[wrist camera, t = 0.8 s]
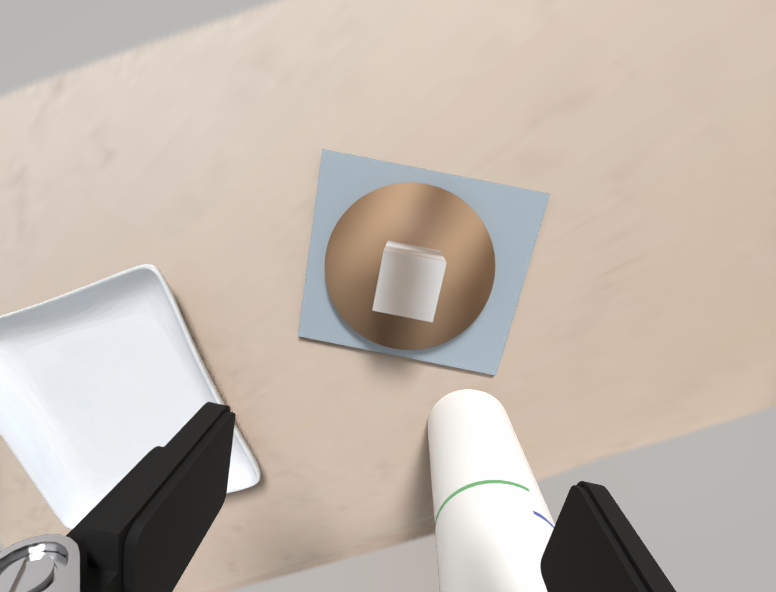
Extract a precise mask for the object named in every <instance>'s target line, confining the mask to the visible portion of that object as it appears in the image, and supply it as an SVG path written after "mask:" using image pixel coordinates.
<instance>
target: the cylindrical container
mask: <svg viewBox="0 0 776 592" xmlns="http://www.w3.org/2000/svg"><path fill="white" fill-rule="evenodd" d="M427 427H428V441H429V454H430V467H431V480H432V493H433V506H434V520H435V533H436V547H437V559H438V573H439V588H440V592H547V589H546V586H545V583H544V581H543V578H542V575H541V569H540V563H541V558H542V555H543V553H544V551H545V548H546V546H547V543H548V541H549V539H550V536H551V534H552V531H553V529H554V527H555V524H554V522H553V519H552V517H551V515H550V512H549V510H548V508H547V506H546V503H545V501H544V499H543V496H542V494H541V492H540V489H539V487H538V485H537V482H536V480H535V478H534V475H533V473H532V471H531V468H530V466H529V464H528V462H527V459H526V457H525V455H524V452H523V450H522V448H521V445H520V443H519V441H518V439H517V436H516V434H515V432H514V429H513V427H512V425H511V422H510V420H509V418H508V416H507V413H506V411H505V409H504V408H503V406H502V404H501V403H500V402H499V401H498V400H497V399H496V398H494V397H493V396H491V395H489V394H487V393H485V392H482V391H478V390H469V389H466V390H458V391H455V392H452V393H450V394H448V395H446V396H444V397H443V398H441V399H440V400H439V401H438V402H437V403H436V404H435V405H434V406H433V408H432V410H431V412H430V414H429V417H428V426H427Z"/></svg>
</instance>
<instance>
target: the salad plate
mask: <svg viewBox="0 0 776 592" xmlns="http://www.w3.org/2000/svg"><path fill="white" fill-rule="evenodd" d="M207 402H213V403H217V404H222V405H225V404H224V402H223V400H222V398H221V396H220V394H219V392H218V390H217V388H216V386H215V384H214V382H213V381H212V379H211V377H210V375H209V373H208V371H207V369H206V367H205V365H204V363H203V361H202V358H201V356H200V354H199V352H198V350H197V348H196V346H195V344H194V341H193V339H192V337H191V335H190V332H189V330H188V328H187V326H186V323H185V321H184V319H183V317H182V314H181V312H180V309H179V307H178V305H177V302H176V300H175V297H174V295H173V293H172V290H171V288H170V286H169V284H168V283H167V281H166V279H165V277H164V276H163V274H162V273H161V272H160V271H159V269H158V268H157V267H155V266H153V265H151V264H142V265H139V266H135V267H133V268H130V269H127V270H124V271H121V272H119V273H116V274H114V275H111V276H109V277H106V278H104V279H101V280H99V281H96V282H94V283H91V284H89V285H86V286H83V287H81V288H78V289H76V290H73V291H70V292H68V293H65V294H62V295H60V296H57V297H54V298H52V299H49V300H46V301H44V302H41V303H38V304H35V305H32V306H29V307H26V308H23V309H20V310H17V311H14V312H11V313H7V314H4V315H0V435H1V436H2V438H3V439H4V440H5V442H6V443H7V445H8V446H9V447H10V449H11V450H12V452H13V453H14V455H15V456H16V458H17V459H18V461H19V462H20V464H21V465H22V467H23V468H24V470H25V471H26V473H27V474H28V475H29V477H30V478H31V480H32V481H33V483H34V484H35V486H36V487H37V489H38V490H39V492H40V493H41V495H42V496H43V497H44V499H45V500H46V502H47V503H48V505H49V506H50V508H51V509H52V510H53V512H54V513H55V515H56V516H57V517H58V519H59V520H60V521H61V523H62V524H63V525H64V526H65V527H67V528H69V529H73V528H74V527H75V526H76V525H77V524H78V523H79V522H80V521H81V520H82V519H83V518H84V517H85V516H86V515H87V514H88V513H89V512H90V511H91V510H92V509H93V508H94V507H95V506H96V505H97V504H98V503H99V502H100V501H101V500H102V499H103V498H104V497H105V496H106V495H107V494H108V493H109V492H110V491H111V490H112V489H113V488H114V487H115V486H116V485H117V484H118V483H119V482H120V481H121V480H122V479H123V478H124V477H125V476H126V475H127V474H128V473H129V472H130V471H131V470H132V469H133V468H134V467H135V466H136V465H137V463H138V462H139V461H140V460H141V459H142V458H143V457H144V456H145V455H146V454H147V453H148V452H149V451H151V450H152V449H153V448H154V447H157V446H162V447H164V446H165V445H166V444H167V443H168V442H169V441H170V440H171V439H172V438H173V437H174V436H175V435H176V434H177V433H178V432H179V430H180V429H181V428H182V427H183V426H184V425H185V424H186V423H187V422H188V421H189V420H190V419H191V418H192V417H193V416H194V415H195V414H196V413H197V412H198V410H199V409H200V408H201V407H202V406H203V405H204V404H205V403H207ZM260 475H261V474H260V469H259V466H258V463H257V461H256V459H255V457H254V455H253V453H252V452H251V450H250V448H249V446H248V445H247V443H246V441H245V440H244V438H243V436H242V434H241V433H240V431H239V429H238V427H237V426H236V424H235V426H234V434H233V443H232V451H231V460H230V468H229V477H228V485H227V493H232V492H236V491H240V490H244V489H246V488H249V487H252V486H254V485H256V484H257V483H258V482H259V480H260ZM227 493H226V494H227Z"/></svg>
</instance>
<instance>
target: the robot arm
mask: <svg viewBox="0 0 776 592" xmlns="http://www.w3.org/2000/svg"><path fill="white" fill-rule="evenodd" d="M234 426H235V413H232V412H230V407H229V406H227V405H222V404H217V403H213V402H207V403H205V404H204V405H203V406H202V407H201V408H200V409H199V410H198V412H197V413H196V414H195V415H194V416H193V417H192V418H191V419H190V420H189V421H188V422H187V423H186V424H185V425H184V426H183V427H182V428H181V429H180V430H179V432H178V433H177V434H176V435H175V436H174V437H173V438H172V439H171V440H170V441H169V442H168V443H167V444H166V445H165V446H164V447H162V446H157V447H154V448H153V449H152V450H151V451H149V452H148V453H147V454H146V455H145V456H144V457H143V458H142V459H141V460H140V461H139V462H138V463H137V465H136V466H135V467H134V468H133V469H132V470H131V471H130V472H129V473H128V474H127V475H126V476H125V477H124V478H123V479H122V480H121V481H120V482H119V483H118V484H117V485H116V486H115V487H114V488H113V489H112V490H111V491H110V492H109V493H108V494H107V495H106V496H105V497H104V498H103V499H102V500H101V501H100V502H99V503H98V504H97V505H96V506H95V507H94V508H93V509H92V510H91V511H90V512H89V513H88V514H87V515H86V516H85V517H84V518H83V519H82V520H81V521H80V522H79V523H78V524H77V525H76V526H75V527H74V528H73V529H72V530H71V531H70V532H69V533H68V534H67V535H66V536H63V535H60V534H45V535H40V536H35V537H30V538H27V539H25V540H22V541H20V542H17V543H15V544H12V545H10V546H9V547H7V548H5V549H3V550H2V551H0V592H172V591H173V589H174V588H175V586H176V584H177V583H178V581H179V579H180V578H181V576H182V574H183V572H184V571H185V569H186V567H187V566H188V564H189V562H190V560H191V559H192V557H193V555H194V554H195V552H196V550H197V548H198V547H199V545H200V543H201V542H202V540H203V538H204V536H205V535H206V533H207V531H208V530H209V528H210V526H211V525H212V523H213V521H214V519H215V518H216V516H217V514H218V513H219V511H220V509H221V507H222V505H223V503H224V500H225V497H226V493H227V485H228V477H229V468H230V460H231V451H232V443H233V434H234ZM540 569H541V575H542V578H543V581H544V583H545V586H546V589H547V592H676V591H675V589H674V588H673V586H672V585H671V583H670V582H669V580H668V579H667V577H666V576H665V574H664V573H663V572H662V570H661V568H660V567H659V566H658V564H657V562H656V561H655V560H654V558H653V557H652V555H651V554H650V552H649V551H648V549H647V548H646V546H645V545H644V543H643V542H642V540H641V539H640V537H639V536H638V535H637V533H636V531H635V530H634V529H633V527H632V526H631V524H630V523H629V521H628V520H627V518H626V517H625V515H624V514H623V512H622V511H621V509H620V508H619V506H618V505H617V503H616V502H615V500H614V499H613V497H612V496H611V494H610V493H609V492H608V490H607V489H606V488H605V487H604V486H602V485H598V484H593V483H589V482H584V481H580V482H579V483H578V484H577V485H576V486H575V485H574V486H572V487H571V489H570V491H569V493H568V496H567V498H566V500H565V503H564V505H563V507H562V510H561V512H560V515H559V517H558V520H557V522H556V525H555V527H554V529H553V531H552V534H551V536H550V539H549V541H548V543H547V546H546V548H545V551H544V553H543V555H542V558H541V563H540Z"/></svg>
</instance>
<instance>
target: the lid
mask: <svg viewBox="0 0 776 592" xmlns="http://www.w3.org/2000/svg"><path fill="white" fill-rule="evenodd" d="M324 267H325V279H326V284H327V288H328V292H329V295H330V297H331V300H332V302H333V304H334V306H335V308H336V309H337V311H338V312H339V314H340V315H341V317H342V318H343V319H344V320H345V321H346V323H347V324H348V325H349V326H350V327H352V328H353V329H354V330H355V331H356V332H357V333H359V334H360V335H362V336H363V337H365V338H366V339H368V340H370V341H372V342H374V343H377V344H379V345H382V346H385V347H389V348H393V349H400V350H419V349H426V348H430V347H435V346H437V345H440V344H443V343H445V342H447V341H449V340H451V339H453V338H455V337H456V336H458V335H459V334H461V333H462V332H463V331H465V330H466V329H467V328H468V327H469V326H470V325H471V324H472V323H473V322H474V321H475V320H476V319H477V317H478V316H479V315H480V313H481V312H482V310H483V309H484V307H485V305H486V303H487V301H488V299H489V296H490V294H491V291H492V288H493V283H494V278H495V254H494V249H493V244H492V241H491V238H490V235H489V233H488V231H487V229H486V227H485V225H484V223H483V222H482V220H481V219H480V217H479V216H478V215H477V213H476V212H475V211H474V210H473V209H472V208H471V207H470V206H469V205H468V204H467V203H466V202H464V201H463V200H462V199H461V198H459V197H458V196H456V195H454V194H453V193H451V192H449V191H447V190H444V189H442V188H440V187H437V186H433V185H429V184H424V183H416V182H408V183H397V184H391V185H388V186H384V187H381V188H378V189H376V190H374V191H372V192H369V193H368V194H366V195H365V196H363V197H361V198H360V199H358V200H357V201H356V202H355V203H354V204H352V205H351V206H350V207H349V208H348V209H347V210H346V212H345V213H344V214H343V215H342V216H341V218H340V219H339V221H338V222H337V224H336V225H335V227H334V229H333V231H332V233H331V236H330V239H329V241H328V244H327V249H326V254H325V265H324Z"/></svg>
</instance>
